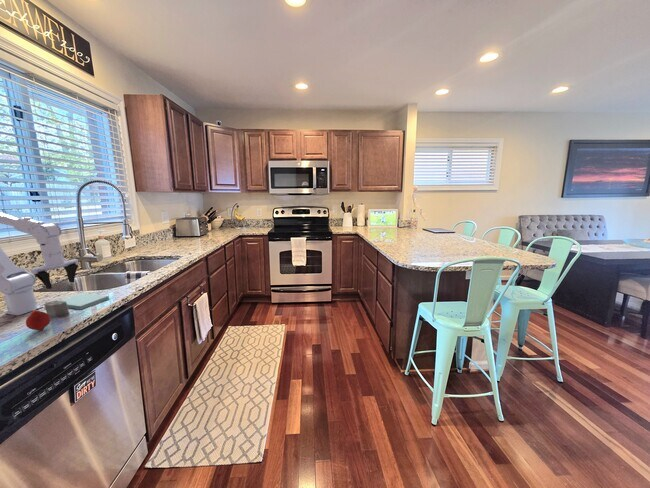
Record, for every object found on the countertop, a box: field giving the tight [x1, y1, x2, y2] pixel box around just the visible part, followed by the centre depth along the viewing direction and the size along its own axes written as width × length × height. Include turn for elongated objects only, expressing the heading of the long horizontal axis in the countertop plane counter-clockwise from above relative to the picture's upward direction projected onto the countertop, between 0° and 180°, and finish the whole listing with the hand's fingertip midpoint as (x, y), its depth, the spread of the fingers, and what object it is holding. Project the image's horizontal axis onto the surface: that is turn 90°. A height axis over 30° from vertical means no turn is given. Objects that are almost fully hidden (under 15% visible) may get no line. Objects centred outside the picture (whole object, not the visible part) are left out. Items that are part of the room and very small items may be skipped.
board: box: [58, 292, 110, 310], centre depth 117 cm, size 18×11×2 cm, turn 72°
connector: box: [42, 299, 70, 319], centre depth 105 cm, size 11×4×5 cm, turn 72°
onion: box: [25, 309, 51, 332], centre depth 92 cm, size 6×6×8 cm
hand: (60, 285), depth 109 cm, fingers open, 7 cm apart
